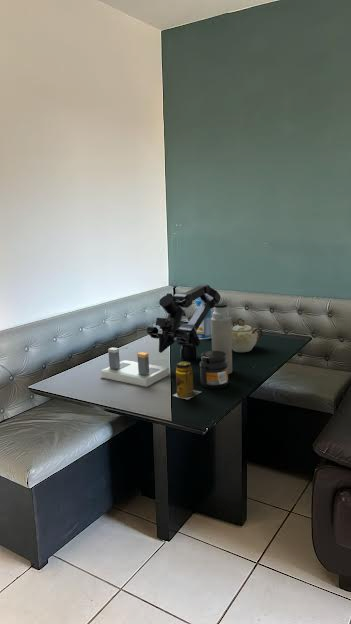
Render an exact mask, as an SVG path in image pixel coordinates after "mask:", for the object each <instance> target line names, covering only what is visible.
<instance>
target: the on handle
mask: <svg viewBox="0 0 351 624" xmlns="http://www.w3.org/2000/svg"><path fill="white" fill-rule="evenodd" d="M107 350H108V351H107V352H108V361H109V363H108V364H109V365H108V367H110V368H112V369H118V368H120V362H121V361H120V348H118V347H110V348H108V349H107Z"/></svg>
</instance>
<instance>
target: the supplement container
mask: <svg viewBox="0 0 351 624" xmlns="http://www.w3.org/2000/svg"><path fill="white" fill-rule="evenodd" d="M200 359H201V361H200V362H199V368H200V369H199V371H200V384H201V385H202V386H203V387H204V388H206V389H213V390H217V389H221V388H224V387H226V386H227V385H228V384H229V374H228V362H227V361H226V353H224V352H222V351H212V350H207V351H204V352H202V353H201V354H200Z"/></svg>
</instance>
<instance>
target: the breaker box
mask: <svg viewBox="0 0 351 624" xmlns="http://www.w3.org/2000/svg"><path fill="white" fill-rule="evenodd" d="M169 368H170V367H167V366H162V365H155V364H150V363H149V374H147V375H143V374H139V371H138V361H132V360H127V359H124V360H121V361H120V368H118V369H112V368H110V366H108V367H106V368H103V369H101V370H100V374H101V376H100V377H101V378H103V379H107V380H113V381H118V382H122V383H127V384H131V385H135V386H142V387H148V386H151V385H152V384H154V383H156V382H158V381H160V380H162V379H164V378H165V377H167V376H169V375H170V374H169V373H170V372H169V371H170V369H169Z"/></svg>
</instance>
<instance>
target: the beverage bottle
mask: <svg viewBox="0 0 351 624" xmlns="http://www.w3.org/2000/svg"><path fill="white" fill-rule="evenodd" d="M195 302H196V305H195V306H196V309H195V311H194V313H195V312H196V310H197V309H198V307H199V306H200V304H201V298H200V297H199V298H197V299H195ZM212 317H213V316H212V309H210V310H209V312H208V313H207V315H206V316H205V318H204V320H203V321H202V323H201V324H200V326H199V328H198V329H197V337H198V338H199V339H200V340H208V339H209V340H210V339H212V335H211V318H212Z"/></svg>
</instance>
